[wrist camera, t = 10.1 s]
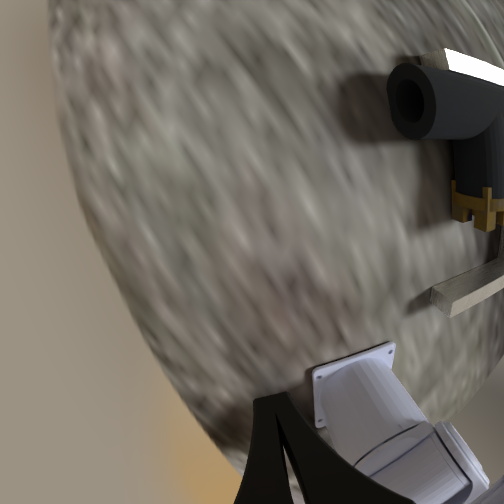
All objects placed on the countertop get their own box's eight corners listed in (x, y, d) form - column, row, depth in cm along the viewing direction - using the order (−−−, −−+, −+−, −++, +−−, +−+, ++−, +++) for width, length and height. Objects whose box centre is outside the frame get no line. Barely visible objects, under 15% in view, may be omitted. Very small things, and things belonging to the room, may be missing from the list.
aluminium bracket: (501, 267, 23) (519, 277, 20) (429, 301, 22) (449, 318, 19) (500, 79, 15) (521, 78, 12) (418, 55, 14) (444, 48, 12)
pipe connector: (538, 216, 15) (445, 251, 14) (500, 203, 20) (398, 228, 19) (531, 91, 11) (427, 54, 10) (491, 92, 16) (379, 72, 15)
